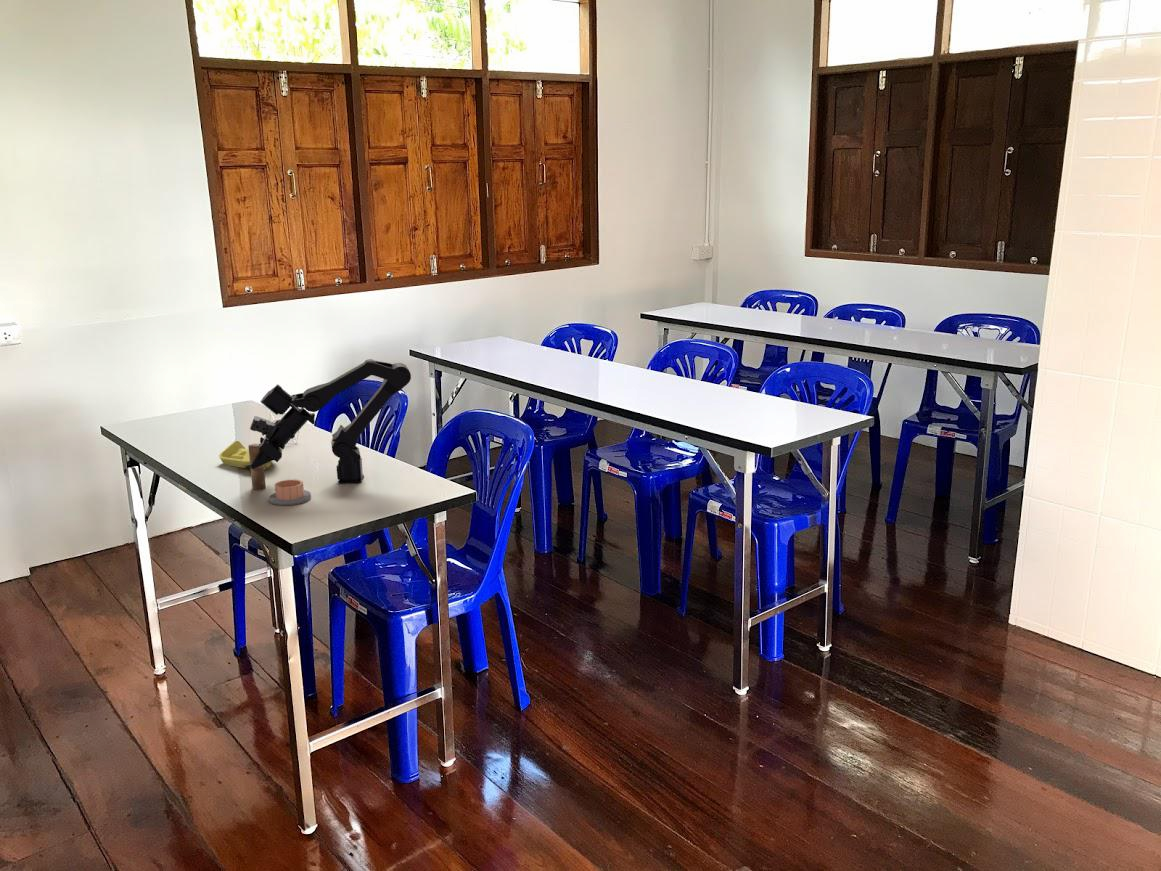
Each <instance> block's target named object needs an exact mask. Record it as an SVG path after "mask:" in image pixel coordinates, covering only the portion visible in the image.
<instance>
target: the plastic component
mask: <svg viewBox="0 0 1161 871" xmlns="http://www.w3.org/2000/svg"><path fill="white" fill-rule="evenodd" d="M218 455H219V456H218V457H219V459H220V460H221V462H222V463H223V465H224V466H229V467H235V468H236V467H237V468H242V469H245V468H246V467H247V466H250V458H249V448H248V449H247V448H246V447H245V446H244V445H243V444H242V443H241V442H240V441H239V440H234V441H233V442H232V443H230V445H228V446H227V447H226V448H225V449H224V450H223V451H221V453H220V454H218ZM271 465H272V461H271V462H268V463H266V464H264V470H266V469H269V468H270V466H271Z"/></svg>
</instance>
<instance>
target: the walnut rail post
mask: <svg viewBox="0 0 1161 871" xmlns="http://www.w3.org/2000/svg"><path fill="white" fill-rule="evenodd" d="M259 444H260V443H252V444H249V445H247V446H248V447H247V448H248V449H249V458H250V465H249V468H250V477H251V488H252V490H254V491H260V490H264V489H266V488H267V487H266V475H265V469H264V464H263V465H261V466H259V467H257V468H255V469H252V468H251V467H250V466H251V464H252V462H253V461H254V459H255V458H256V456H257V455H258V453H259V452H260V451H259Z"/></svg>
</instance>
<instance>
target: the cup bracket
mask: <svg viewBox="0 0 1161 871" xmlns="http://www.w3.org/2000/svg"><path fill="white" fill-rule="evenodd" d="M274 490H275V491H274V492H273V493H272V494H269V497H268V502H269V503H270V504H271V505H274V506H278V507H279V506H282V507H287V506H297V505H301V504H302V505H303V504H304V503H308V502H309V501H310V500H311V499H312V493H311V492H310V491H308V490H306V489H304V481H302V480H300V479H296V478H295V479H284V480H280V481H277V482H276V483H275V484H274Z"/></svg>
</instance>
